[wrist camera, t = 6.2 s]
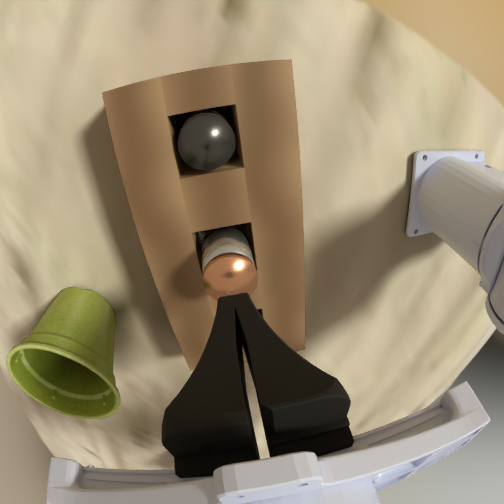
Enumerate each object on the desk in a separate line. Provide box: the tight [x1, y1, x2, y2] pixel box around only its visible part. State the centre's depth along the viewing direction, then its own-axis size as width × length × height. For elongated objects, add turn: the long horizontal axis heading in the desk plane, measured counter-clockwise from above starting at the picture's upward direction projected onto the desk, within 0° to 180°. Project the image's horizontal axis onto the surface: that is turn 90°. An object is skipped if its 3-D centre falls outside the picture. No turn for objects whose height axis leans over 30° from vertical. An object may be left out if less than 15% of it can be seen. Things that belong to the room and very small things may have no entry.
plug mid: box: [202, 227, 258, 301], centre depth 18 cm, size 3×3×4 cm
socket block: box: [102, 60, 305, 370], centre depth 21 cm, size 10×22×4 cm, turn 7°
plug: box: [178, 109, 235, 170], centre depth 17 cm, size 3×3×4 cm
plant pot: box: [6, 287, 120, 419], centre depth 21 cm, size 9×9×9 cm
